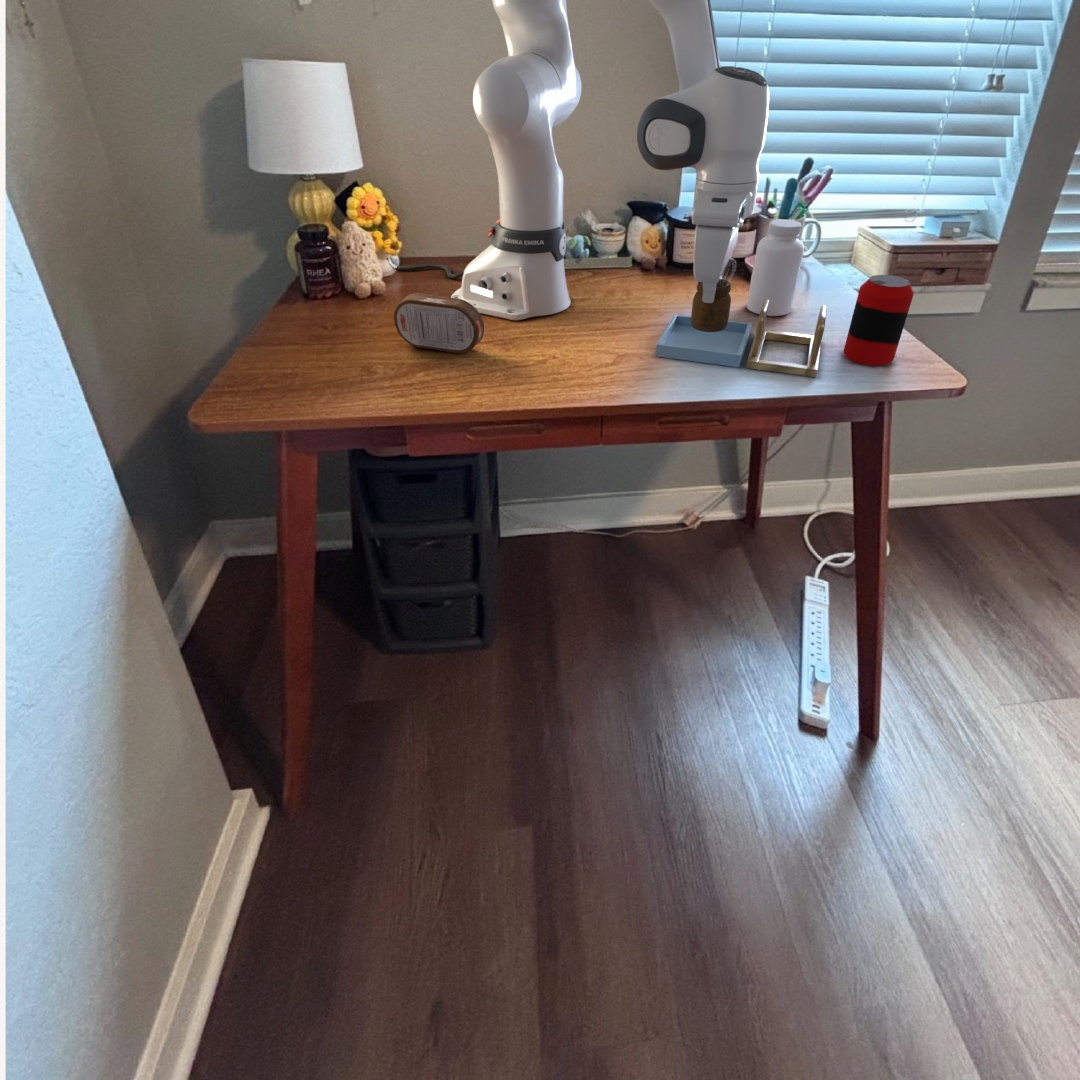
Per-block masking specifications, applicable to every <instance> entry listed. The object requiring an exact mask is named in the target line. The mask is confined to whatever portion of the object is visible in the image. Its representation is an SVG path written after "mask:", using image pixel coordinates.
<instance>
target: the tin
mask: <svg viewBox="0 0 1080 1080" xmlns="http://www.w3.org/2000/svg"><path fill="white" fill-rule="evenodd" d="M393 320H394V321H393V322H394V325H395V329H396V331H397V333H398V335H399V336H400V337H401V338H402V339H403V340H404V342H406V343H407V344H408V345H411V346H412V347H415V348H419V349H427V350H432V351H433V350H434V351H442V352H448V353H454V354H465V353H468V352H470V351H471V350H473V349H474V348H475V347H476V346H477V345H478V344H479V343H480V342H481V341H482V339H483V337H484V333H485V324H484V320H483V317H482V315H481V313H479V312H478V310H477V309H476V308H475V307H474V306H473V305H472V304H470V303H469V302H467V301H465V300H462V299H457V298H451V297H450V296H439V295H433V294H425V293H419V292H418V293H417V292H416V293H410V294H408V295H406V296H405V297H404V298H402V300H401V301H400V302H399V303H398V304H397V305H396V307H395V309H394V312H393Z"/></svg>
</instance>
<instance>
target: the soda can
mask: <svg viewBox="0 0 1080 1080" xmlns="http://www.w3.org/2000/svg"><path fill="white" fill-rule="evenodd" d="M914 294H915V292H914V290H913V287H912V285H911V282H910V280H909V279H907V278H905V277H901V276H897V275H890V274H875V275H872V276H870V277H868V279H866V281H864V282H863V283H862V284H861V285H860V287H859V289H858V293H857V297H856V301H855V305H854V308H853V309H854V310H853V312H852V316H851V321H850V323H849V324H850V325H849V327H848V328H849V329H848V332H847V336H846V340H845V343H844V347H843V351H842V352H843V355H844V357H845V358H846V359H847V360H849V361H850V362H852V363H854V364H858V365H861V366H868V367H884V366H886V365H889V364H891V363H892V362H893V361H894V359H895V356H896V353H897V350H898V346H899V344H900V340H901V337H902V333H903V331H904V327H905V324H906V320H907V317H908V315H909V311H910V308H911V305H912V301H913V298H914V296H915V295H914Z"/></svg>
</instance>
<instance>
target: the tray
mask: <svg viewBox="0 0 1080 1080" xmlns="http://www.w3.org/2000/svg"><path fill="white" fill-rule="evenodd" d="M752 324H753V323H751V322H743V321H733V320H728V324H727V327H726V328H725V329H724V330H722V331H719V332H703V331H699V330H696V329H694V328H693V327H692V325H691V315H684V314H682V315H681V314H673V315H672V317H671V319H670V320H669V322H668V324H667V325H666V327H665V329H664V331H663V333H662V334H661V336H660V337H659V340H658V341H657V343H656V345H655V355H654V356H655V357H658V358H665V359H673V360H681V361H688V362H694V363H695V362H697V363H703V364H712V365H719V366H726V367H734V368H740V366H741V362H742V360H743V357H744V354H745V350H746V348H747V345H748V341H749V338H750V335H751V330H752Z"/></svg>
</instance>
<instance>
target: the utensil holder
mask: <svg viewBox="0 0 1080 1080" xmlns="http://www.w3.org/2000/svg"><path fill="white" fill-rule="evenodd" d="M732 262H734V263H735V264H734V265H737V261H736V260H735V258H732V257H730V258H729V261H728V263H727V265H726V268H725V271H724V274H723V279H719V282H718V283H717V286H716V295H715V300H714V302H713V303H704V302H703V301H702V297H703V282H697V284H696V292H695V293H694V296H693V298H692V304H691V305H692V306H691V315H690V316H691V325H692V327H693V328H694V329H696V330H699V331H703V332H719V331H722V330H724V329H725V328H726V327H727V324H728V321H729V318H730V311H731V306H732V305H731V303H732V297H731V294H730V292H731V290H732V283H731V281H732V280H733V278H734V276H735V272H736V270H737V268H736V266H733V267H732V269H731V270H732V271H730V275H729V277H728V280H727V279H726V278H727V275H728V273H729V269H730V267H731V265H732V264H731V263H732ZM728 267H729V268H728ZM727 269H728V271H727Z"/></svg>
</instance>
